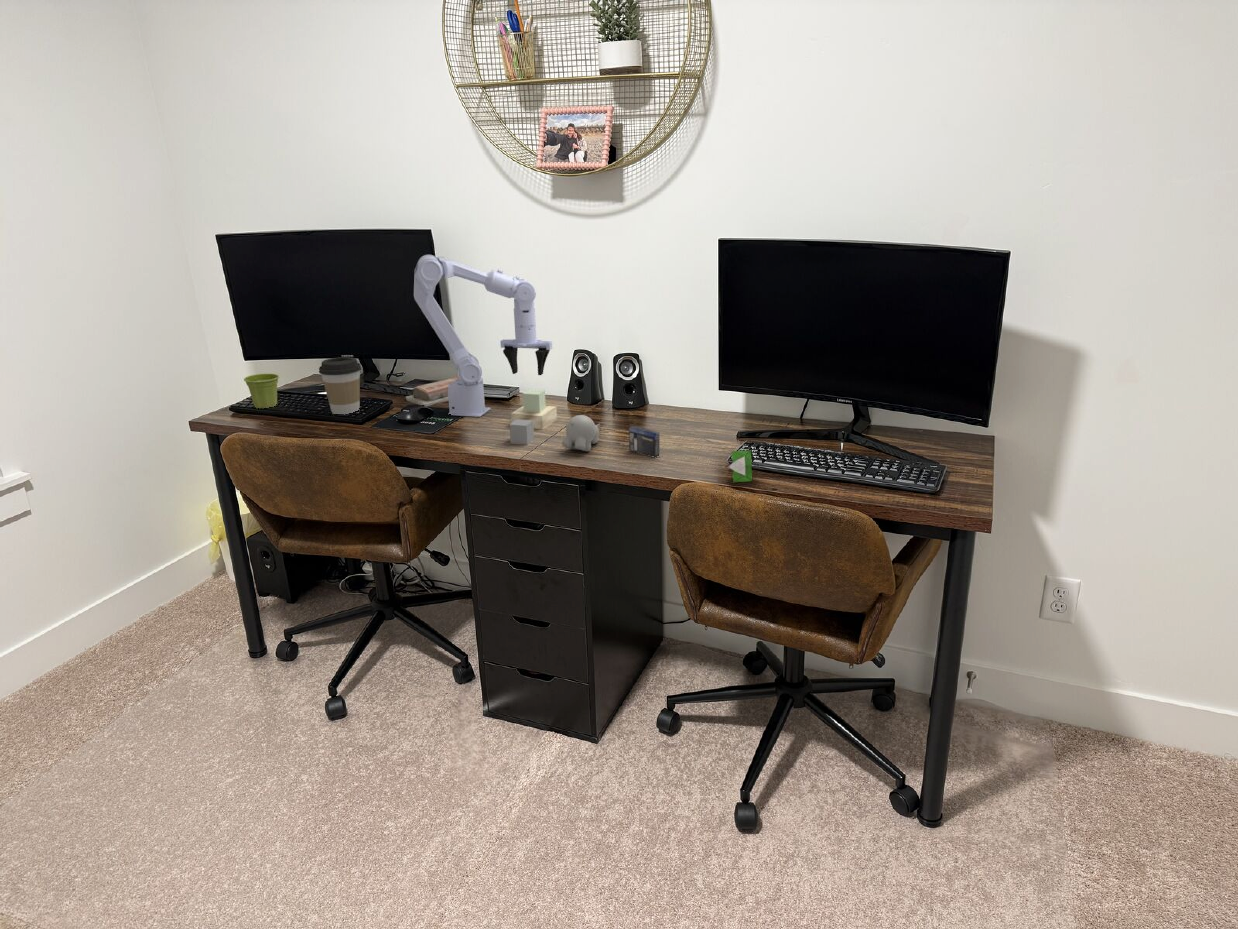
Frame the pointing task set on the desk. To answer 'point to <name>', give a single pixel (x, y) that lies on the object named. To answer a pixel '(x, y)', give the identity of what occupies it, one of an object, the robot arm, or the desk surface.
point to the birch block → (537, 416)
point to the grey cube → (521, 432)
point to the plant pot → (263, 389)
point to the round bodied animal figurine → (581, 433)
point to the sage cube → (534, 400)
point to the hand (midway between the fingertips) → (527, 373)
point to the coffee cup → (342, 384)
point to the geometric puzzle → (741, 466)
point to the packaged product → (431, 393)
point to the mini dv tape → (644, 441)
